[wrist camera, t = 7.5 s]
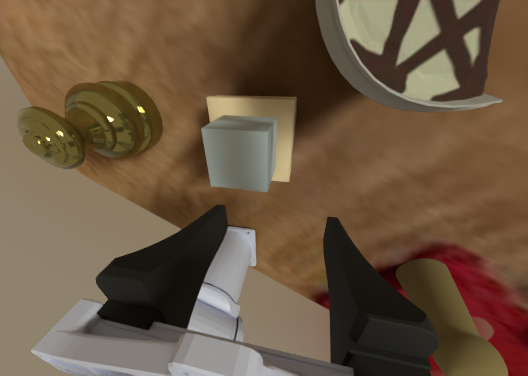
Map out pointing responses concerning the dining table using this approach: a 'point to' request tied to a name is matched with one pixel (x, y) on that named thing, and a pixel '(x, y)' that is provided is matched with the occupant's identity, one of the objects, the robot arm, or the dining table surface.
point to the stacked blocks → (249, 140)
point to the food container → (412, 50)
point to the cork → (449, 320)
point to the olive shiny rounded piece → (92, 124)
